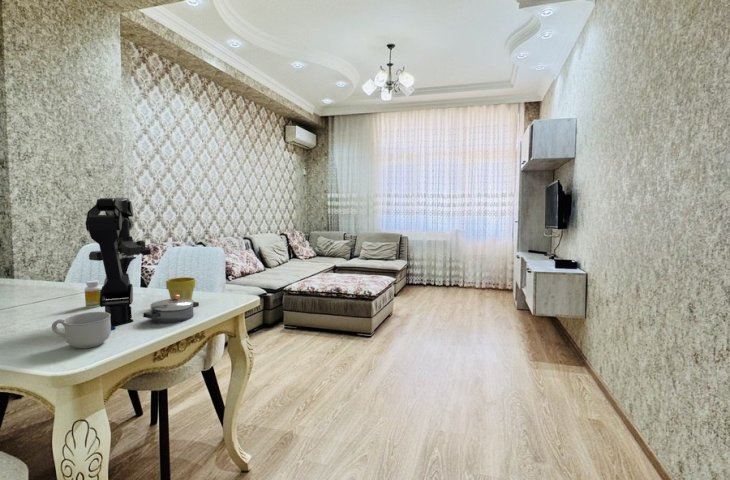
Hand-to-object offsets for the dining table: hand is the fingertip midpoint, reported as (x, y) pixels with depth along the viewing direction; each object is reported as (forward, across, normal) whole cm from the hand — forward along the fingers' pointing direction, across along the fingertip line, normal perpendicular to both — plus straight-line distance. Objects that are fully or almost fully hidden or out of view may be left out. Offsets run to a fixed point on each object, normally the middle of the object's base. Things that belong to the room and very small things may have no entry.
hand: (122, 277), depth 140 cm
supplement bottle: (+13, 0, +20) cm, 24 cm away
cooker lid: (+9, +4, -21) cm, 23 cm away
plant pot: (+13, +18, -7) cm, 23 cm away
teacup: (+13, -24, -22) cm, 36 cm away
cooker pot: (+13, +4, -21) cm, 25 cm away
